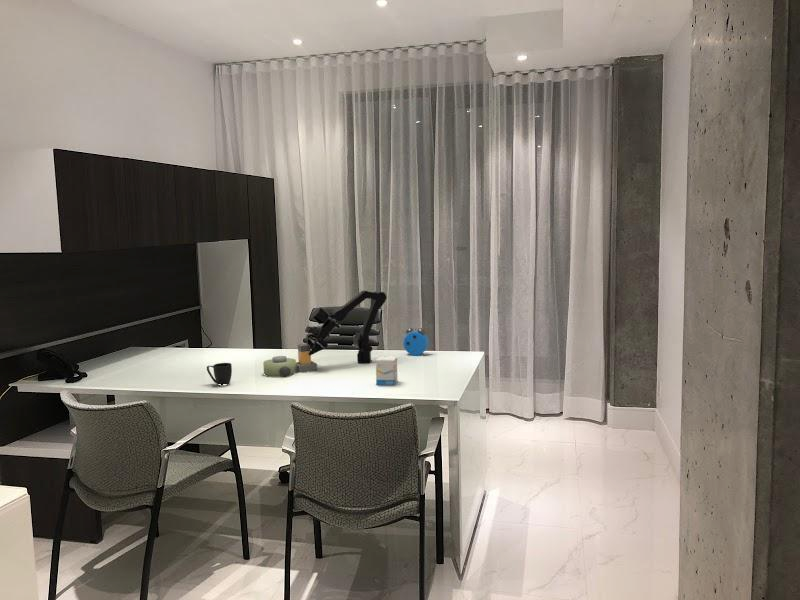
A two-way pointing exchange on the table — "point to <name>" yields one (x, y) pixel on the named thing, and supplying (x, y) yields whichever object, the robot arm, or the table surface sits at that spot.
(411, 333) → the alarm clock
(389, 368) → the ink box
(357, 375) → the table surface
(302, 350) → the orange bottle
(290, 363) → the mower deck
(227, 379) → the mug
